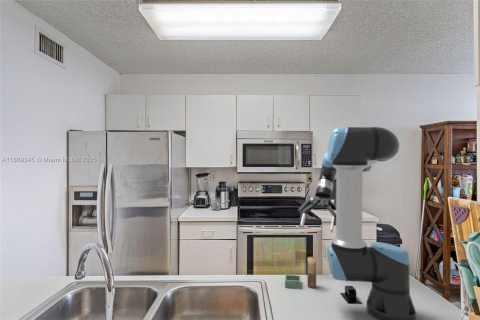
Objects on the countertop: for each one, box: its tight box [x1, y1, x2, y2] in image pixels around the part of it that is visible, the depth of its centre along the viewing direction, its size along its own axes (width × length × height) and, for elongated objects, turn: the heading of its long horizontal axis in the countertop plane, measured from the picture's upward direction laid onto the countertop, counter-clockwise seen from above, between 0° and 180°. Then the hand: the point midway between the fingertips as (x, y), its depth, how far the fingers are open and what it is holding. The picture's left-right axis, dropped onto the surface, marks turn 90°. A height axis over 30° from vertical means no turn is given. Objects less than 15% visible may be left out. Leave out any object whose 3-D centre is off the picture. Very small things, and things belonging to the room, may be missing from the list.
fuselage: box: [307, 256, 317, 289], centre depth 117 cm, size 4×4×12 cm
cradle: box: [284, 274, 302, 290], centre depth 118 cm, size 7×7×3 cm
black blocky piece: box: [339, 285, 363, 305], centre depth 106 cm, size 12×7×5 cm, turn 179°
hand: (316, 228), depth 125 cm, fingers open, 13 cm apart
